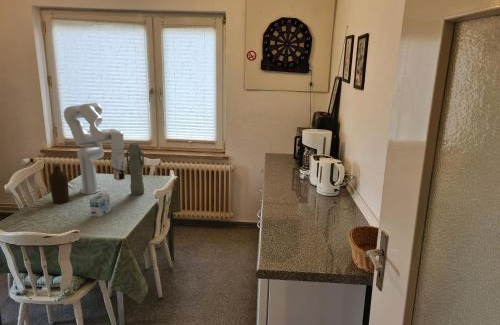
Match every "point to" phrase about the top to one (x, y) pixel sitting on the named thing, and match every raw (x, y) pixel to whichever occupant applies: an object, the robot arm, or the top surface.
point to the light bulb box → (100, 205)
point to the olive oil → (59, 186)
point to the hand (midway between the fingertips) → (119, 177)
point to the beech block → (117, 174)
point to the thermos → (135, 169)
